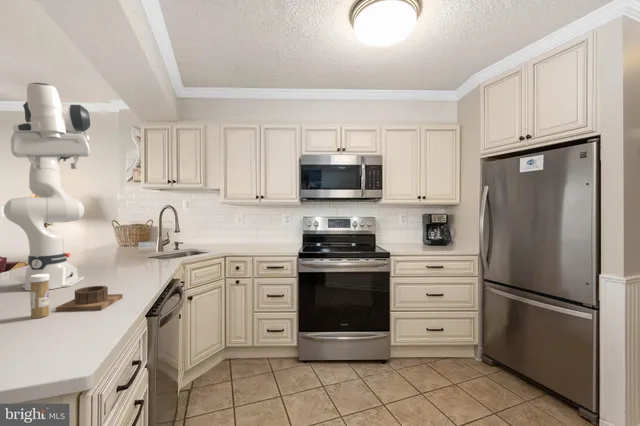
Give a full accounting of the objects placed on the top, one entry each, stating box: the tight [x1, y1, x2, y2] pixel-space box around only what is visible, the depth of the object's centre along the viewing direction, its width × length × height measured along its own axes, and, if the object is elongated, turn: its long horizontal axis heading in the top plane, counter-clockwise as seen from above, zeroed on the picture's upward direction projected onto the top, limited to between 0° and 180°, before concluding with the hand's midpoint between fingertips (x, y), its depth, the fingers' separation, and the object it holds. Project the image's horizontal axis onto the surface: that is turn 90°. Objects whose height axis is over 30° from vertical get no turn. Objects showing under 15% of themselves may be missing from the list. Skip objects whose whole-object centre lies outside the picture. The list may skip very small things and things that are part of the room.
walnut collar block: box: [55, 285, 123, 313], centre depth 109 cm, size 14×14×6 cm
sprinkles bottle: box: [29, 274, 50, 319], centre depth 97 cm, size 5×5×14 cm
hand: (56, 169), depth 103 cm, fingers open, 8 cm apart
